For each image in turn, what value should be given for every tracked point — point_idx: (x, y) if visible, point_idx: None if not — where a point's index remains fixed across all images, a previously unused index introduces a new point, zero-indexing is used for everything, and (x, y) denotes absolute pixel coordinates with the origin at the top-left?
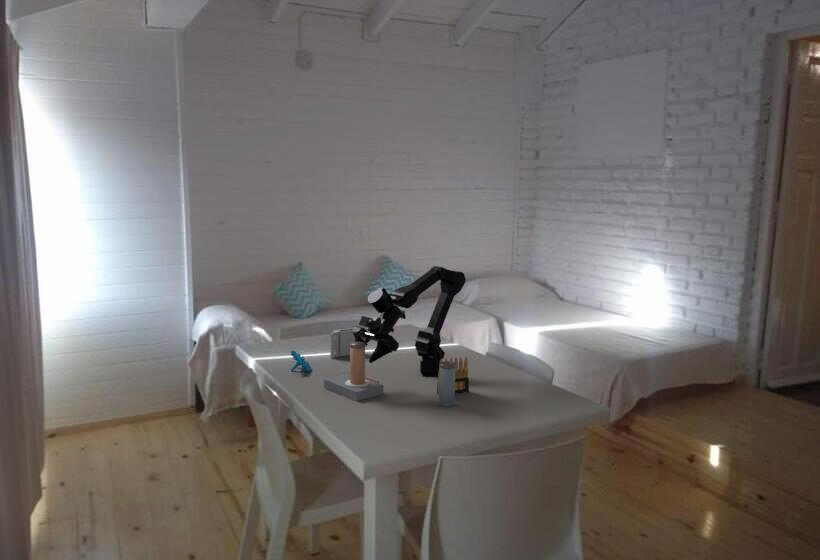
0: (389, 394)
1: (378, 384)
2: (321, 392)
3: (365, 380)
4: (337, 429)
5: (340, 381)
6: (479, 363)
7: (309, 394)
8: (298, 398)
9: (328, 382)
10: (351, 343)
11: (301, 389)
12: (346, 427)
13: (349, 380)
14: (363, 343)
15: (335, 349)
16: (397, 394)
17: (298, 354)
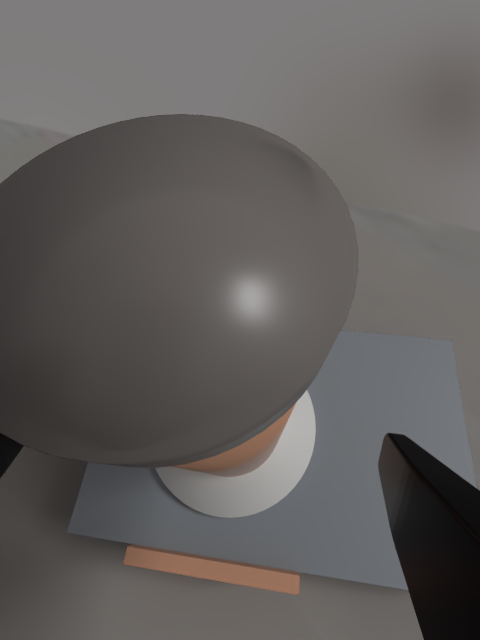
0: (60, 551)
1: (104, 517)
2: (367, 307)
3: (222, 500)
4: (40, 141)
5: (345, 378)
6: None
7: (376, 258)
8: (358, 207)
9: (398, 339)
10: (266, 161)
11: (467, 274)
12: (24, 161)
13: (304, 415)
14: (10, 343)
15: None
16: (12, 595)
17: None
